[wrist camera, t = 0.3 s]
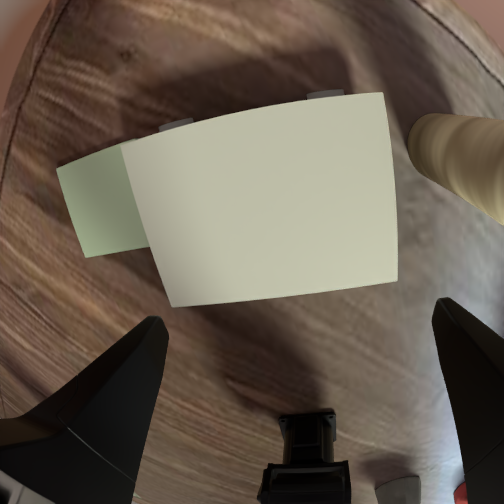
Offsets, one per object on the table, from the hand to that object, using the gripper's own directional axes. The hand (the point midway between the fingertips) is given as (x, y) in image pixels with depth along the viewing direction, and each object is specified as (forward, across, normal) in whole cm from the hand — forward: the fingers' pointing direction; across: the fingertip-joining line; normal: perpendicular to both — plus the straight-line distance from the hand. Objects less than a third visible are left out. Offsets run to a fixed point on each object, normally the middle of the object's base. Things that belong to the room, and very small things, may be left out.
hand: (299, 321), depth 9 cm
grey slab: (+14, +2, +1) cm, 14 cm away
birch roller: (+14, -11, -2) cm, 18 cm away
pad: (+14, +15, 0) cm, 21 cm away
